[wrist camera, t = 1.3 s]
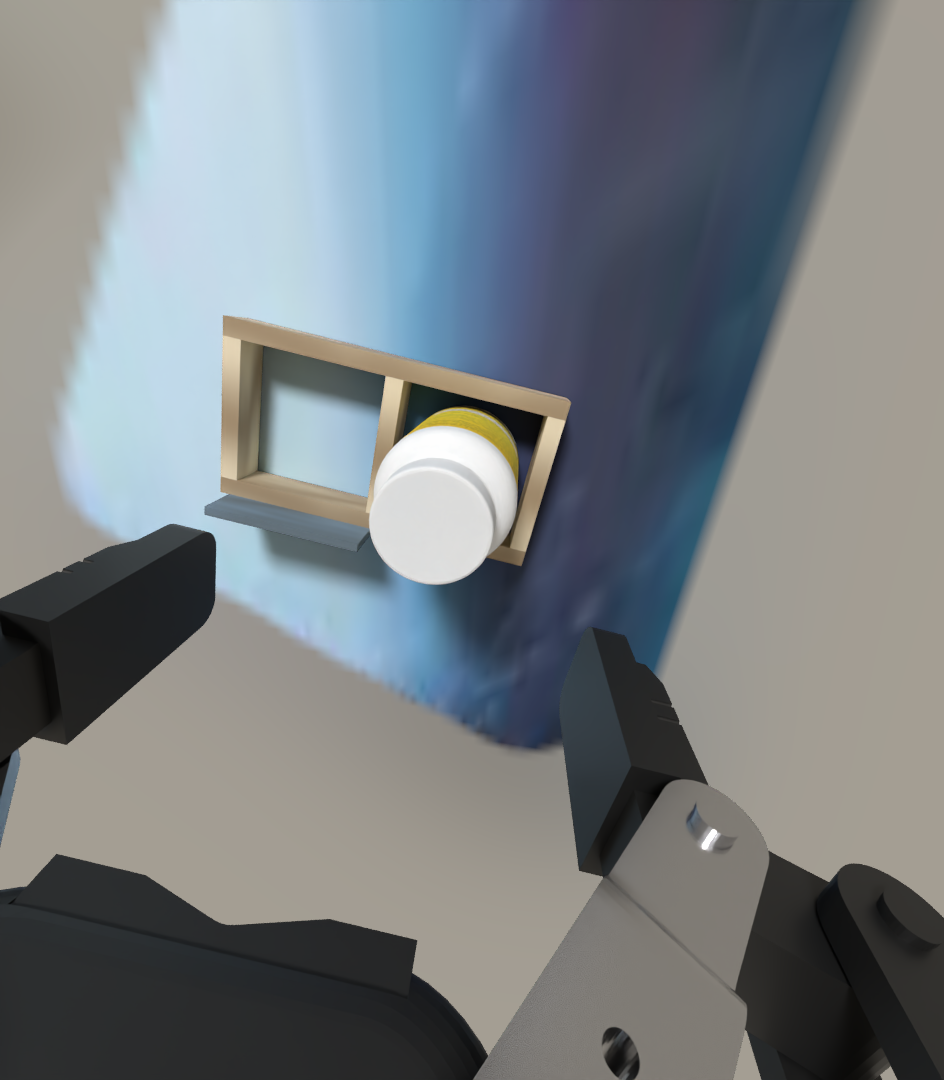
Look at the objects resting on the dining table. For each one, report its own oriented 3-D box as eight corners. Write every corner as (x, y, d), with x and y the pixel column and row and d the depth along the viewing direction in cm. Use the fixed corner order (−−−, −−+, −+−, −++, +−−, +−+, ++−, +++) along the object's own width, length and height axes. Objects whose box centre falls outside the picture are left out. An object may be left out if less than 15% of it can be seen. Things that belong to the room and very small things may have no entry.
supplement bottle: (415, 397, 23) (347, 429, 14) (526, 411, 22) (533, 455, 13) (408, 502, 25) (345, 592, 16) (509, 517, 24) (506, 616, 15)
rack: (247, 318, 22) (193, 312, 18) (566, 397, 22) (576, 407, 18) (242, 488, 25) (195, 512, 21) (518, 556, 25) (519, 592, 22)
